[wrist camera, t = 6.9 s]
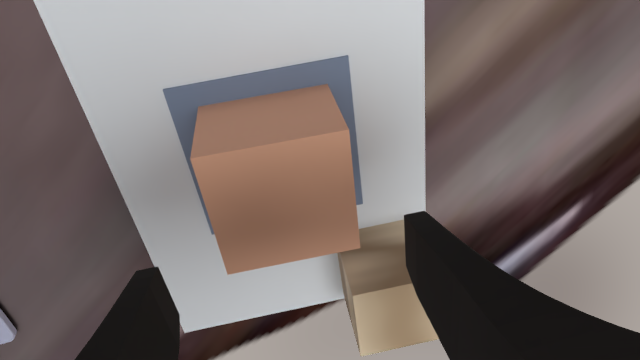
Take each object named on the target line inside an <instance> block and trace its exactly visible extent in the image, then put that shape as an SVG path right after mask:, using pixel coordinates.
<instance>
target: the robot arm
mask: <svg viewBox="0 0 640 360" xmlns="http://www.w3.org/2000/svg"><path fill="white" fill-rule="evenodd" d="M404 231H405V257H406V267H407V270H408V273H409V276H410V279H411V281H412V284H413V287H414V289H415V292H416V295H417V297H418V299H419V301H420V303H421V305H422V307H423V309H424V311H425V313H426V315H427V317H428V318H429V320H430V322H431V324H432V326H433V328H434V330H435V332H436V334H437V336H438V338H439V339H440V341H441V343H442V345H443V347H444V349H445V351H446V353H447V355H448V357H449V359H450V360H640V333H638V332H634V331H632V330H629V329H625V328H622V327H619V326H617V325H614V324H612V323H609V322H606V321H604V320H601V319H599V318H596V317H594V316H591V315H588V314H586V313H584V312H581V311H579V310H577V309H575V308H572V307H570V306H568V305H566V304H564V303H562V302H560V301H557V300H555V299H553V298H551V297H549V296H547V295H545V294H543V293H541V292H539V291H537V290H535V289H533V288H532V287H530V286H528V285H526V284H524V283H523V282H521V281H519V280H518V279H516V278H514V277H512V276H511V275H509V274H508V273H506V272H504V271H503V270H501V269H500V268H498V267H497V266H495V265H494V264H492V263H491V262H489V261H488V260H487V259H485V258H484V257H482V256H481V255H479V254H478V253H477V252H475V251H474V250H473V249H471V248H470V247H469V246H467V245H466V244H465V243H463V242H462V241H461V240H460V239H458V238H457V237H456V236H454V235H453V234H452V233H451V232H450V231H448V230H447V229H446V228H445V227H443V226H442V225H441V224H440V223H439V222H437V221H436V220H435V219H434V218H433V217H431V216H430V215H429V214H428V213H427V212H425V211H420V212H415V213H411V214H406V215H404ZM16 333H17V330H16V328H15V327H14V326H13V324H12V323H11V322H10V320H9V319H8V318H7V316H6V315H5V314H4V313H3V311H2V310H1V309H0V344H4V343H8V342H11V341H12V340H13V339H14V338H15V336H16ZM179 338H180V315H179V312H178V310H177V308H176V306H175V303H174V301H173V299H172V297H171V294H170V292H169V290H168V288H167V286H166V283H165V281H164V279H163V277H162V274H161V272H160V270H159V268H158V267H153V268H148V269H144V270H139V271H136V272H135V274H134V275H133V277H132V278H131V280H130V281H129V283H128V284H127V286H126V287H125V289H124V290H123V292H122V293H121V295H120V296H119V298H118V299H117V301H116V302H115V304H114V305H113V307H112V308H111V310H110V311H109V313H108V314H107V316H106V317H105V319H104V320H103V322H102V323H101V325H100V326H99V327H98V329H97V330H96V332H95V333H94V335H93V336H92V337H91V339H90V340H89V341H88V343H87V344H86V345H85V347H84V348H83V349H82V351H81V352H80V353H79V355H78V356H77V357H76V359H75V360H178V354H179Z"/></svg>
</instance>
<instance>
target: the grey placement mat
mask: <svg viewBox="0 0 640 360" xmlns="http://www.w3.org/2000/svg"><path fill="white" fill-rule="evenodd" d="M34 2H35V5H36V7H37V9H38V11H39V13H40V16H41V18H42V20H43V22H44V24H45V27H46V29H47V31H48V33H49V35H50V38H51V40H52V42H53V44H54V46H55V49H56V51H57V53H58V55H59V57H60V60H61V62H62V64H63V66H64V68H65V71H66V73H67V75H68V77H69V79H70V82H71V84H72V86H73V88H74V90H75V93H76V95H77V97H78V99H79V101H80V104H81V106H82V108H83V110H84V112H85V115H86V117H87V119H88V121H89V123H90V126H91V128H92V130H93V132H94V134H95V137H96V139H97V141H98V143H99V145H100V148H101V150H102V152H103V154H104V156H105V159H106V161H107V163H108V165H109V167H110V170H111V172H112V174H113V176H114V178H115V181H116V183H117V185H118V187H119V190H120V192H121V194H122V196H123V198H124V201H125V203H126V205H127V207H128V209H129V212H130V214H131V216H132V218H133V220H134V223H135V225H136V227H137V229H138V231H139V234H140V236H141V238H142V240H143V242H144V245H145V247H146V249H147V251H148V253H149V256H150V258H151V260H152V262H153V264H154V267H158V268H159V270H160V272H161V274H162V277H163V279H164V281H165V283H166V286H167V288H168V290H169V292H170V294H171V297H172V299H173V301H174V303H175V306H176V308H177V310H178V312H179V315H180V324H181V326H182V328H183V330H184V333H186V332H190V331H195V330H200V329H204V328H209V327H214V326H218V325H223V324H227V323H232V322H237V321H241V320H246V319H251V318H255V317H260V316H265V315H269V314H274V313H278V312H283V311H288V310H292V309H297V308H302V307H306V306H311V305H316V304H320V303H325V302H329V301H334V300H339V299H343V298H345V297H344V293H343V288H342V281H341V274H340V267H339V261H338V254H337V253H334V254H329V255H324V256H319V257H314V258H309V259H304V260H299V261H294V262H289V263H284V264H279V265H274V266H269V267H264V268H259V269H254V270H249V271H244V272H239V273H234V274H229V275H227V271H226V268H225V265H224V262H223V259H222V256H221V253H220V250H219V247H218V244H217V240H216V237H215V234H214V231H213V228H212V225H211V222H210V219H209V216H208V212H207V209H206V206H205V203H204V200H203V197H202V194H201V191H200V188H199V185H198V181H197V178H196V175H195V172H194V169H193V166H192V163H191V160H190V157H191V150H192V144H193V137H194V131H195V124H196V118H197V111H198V107H199V106H205V105H210V104H216V103H222V102H227V101H233V100H239V99H244V98H250V97H256V96H261V95H267V94H273V93H278V92H284V91H290V90H296V89H301V88H307V87H313V86H318V85H324V84H328V86H329V88H330V90H331V93H332V95H333V97H334V99H335V101H336V103H337V105H338V107H339V109H340V111H341V114H342V116H343V118H344V120H345V122H346V124H347V126H348V128H349V134H350V144H351V155H352V165H353V175H354V186H355V196H356V206H357V217H358V227H359V229H361V228H366V227H371V226H375V225H380V224H385V223H390V222H395V221H400V220H404V215H406V214H411V213H415V212H420V211H425V40H424V0H34Z"/></svg>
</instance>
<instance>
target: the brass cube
mask: <svg viewBox="0 0 640 360" xmlns="http://www.w3.org/2000/svg"><path fill="white" fill-rule="evenodd" d="M359 238H360V248H359V249H354V250H349V251H344V252H339V253H337V254H338V261H339V267H340V274H341V281H342V288H343V293H344V297H345V301H346V304H347V308H348V312H349V315H350V319H351V323H352V326H353V330H354V334H355V337H356V341H357V345H358V348H359V352H360V356H365V355H369V354H374V353H379V352H383V351H388V350H392V349H396V348H401V347H406V346H410V345H414V344H419V343H423V342H428V341H432V340H437V339H439V338H438V336H437V334H436V332H435V330H434V328H433V326H432V324H431V322H430V320H429V318H428V317H427V315H426V313H425V311H424V309H423V307H422V305H421V303H420V301H419V299H418V297H417V295H416V292H415V289H414V287H413V284H412V281H411V279H410V276H409V273H408V270H407V267H406V257H405V231H404V220H400V221H395V222H390V223H385V224H380V225H375V226H371V227H366V228H361V229H359Z"/></svg>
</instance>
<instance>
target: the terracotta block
mask: <svg viewBox="0 0 640 360" xmlns="http://www.w3.org/2000/svg"><path fill="white" fill-rule="evenodd" d="M190 160H191V163H192V166H193V169H194V172H195V175H196V178H197V181H198V185H199V188H200V191H201V194H202V197H203V200H204V203H205V206H206V209H207V212H208V216H209V219H210V222H211V225H212V228H213V231H214V234H215V237H216V240H217V244H218V247H219V250H220V253H221V256H222V259H223V262H224V265H225V268H226V271H227V275H229V274H234V273H239V272H244V271H249V270H254V269H259V268H264V267H269V266H274V265H279V264H284V263H289V262H294V261H299V260H304V259H309V258H314V257H319V256H324V255H329V254H334V253H339V252H344V251H349V250H354V249H359V248H360V238H359V227H358V217H357V206H356V196H355V186H354V175H353V165H352V155H351V144H350V134H349V128H348V126H347V124H346V122H345V120H344V118H343V116H342V114H341V111H340V109H339V107H338V105H337V103H336V101H335V99H334V97H333V95H332V93H331V90H330V88H329V86H328V84H324V85H318V86H313V87H307V88H301V89H296V90H290V91H284V92H278V93H273V94H267V95H261V96H256V97H250V98H244V99H239V100H233V101H227V102H222V103H216V104H210V105H205V106H199V107H198V111H197V118H196V124H195V131H194V137H193V144H192V150H191V157H190Z"/></svg>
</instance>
